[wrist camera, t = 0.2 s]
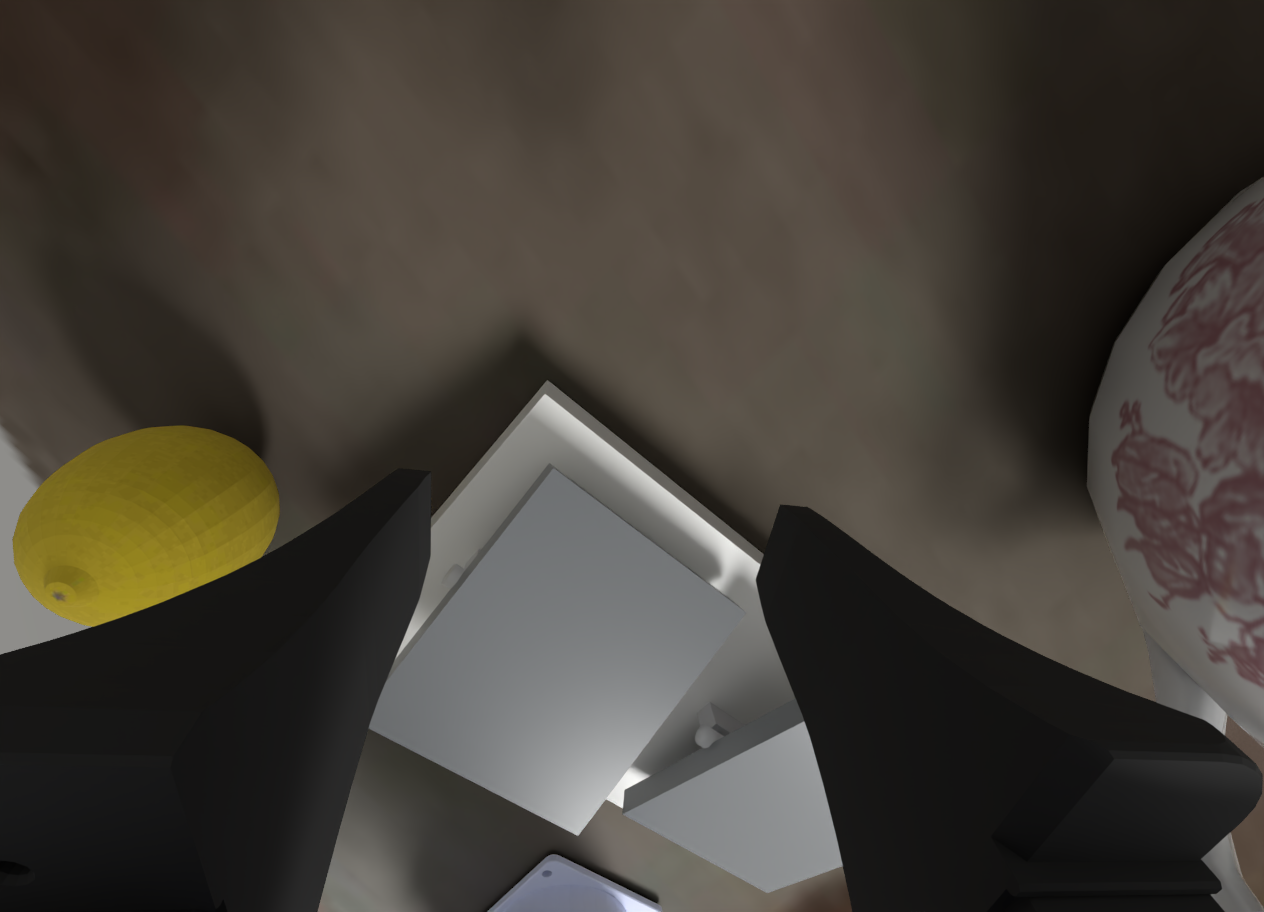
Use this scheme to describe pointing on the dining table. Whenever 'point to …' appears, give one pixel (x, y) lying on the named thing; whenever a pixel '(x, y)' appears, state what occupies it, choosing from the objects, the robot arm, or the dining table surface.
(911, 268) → the dining table surface
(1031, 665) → the robot arm
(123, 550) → the lemon
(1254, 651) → the chamber pot
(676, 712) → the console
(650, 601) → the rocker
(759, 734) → the rocker
